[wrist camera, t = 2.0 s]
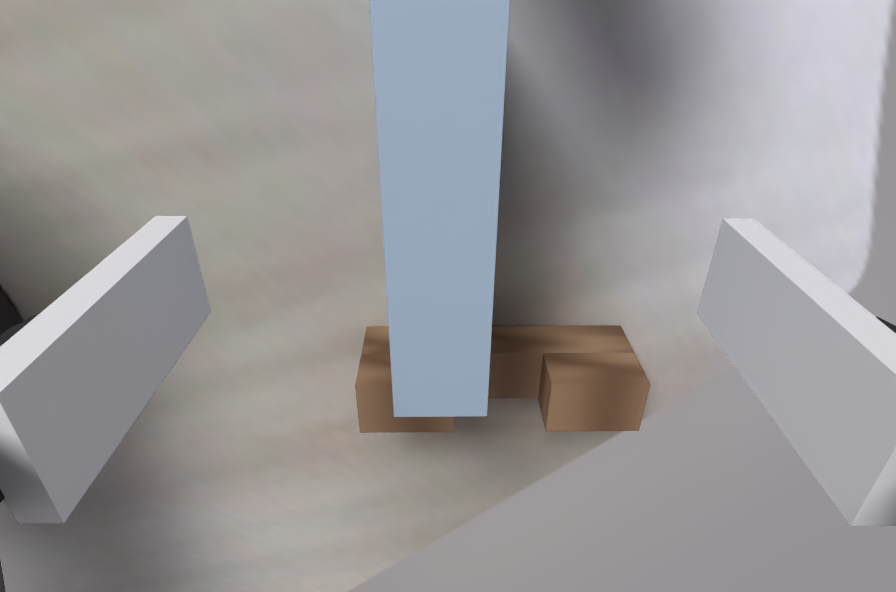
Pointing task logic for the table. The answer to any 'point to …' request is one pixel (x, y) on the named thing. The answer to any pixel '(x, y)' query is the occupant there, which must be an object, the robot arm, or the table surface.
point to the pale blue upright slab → (439, 194)
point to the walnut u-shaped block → (527, 379)
